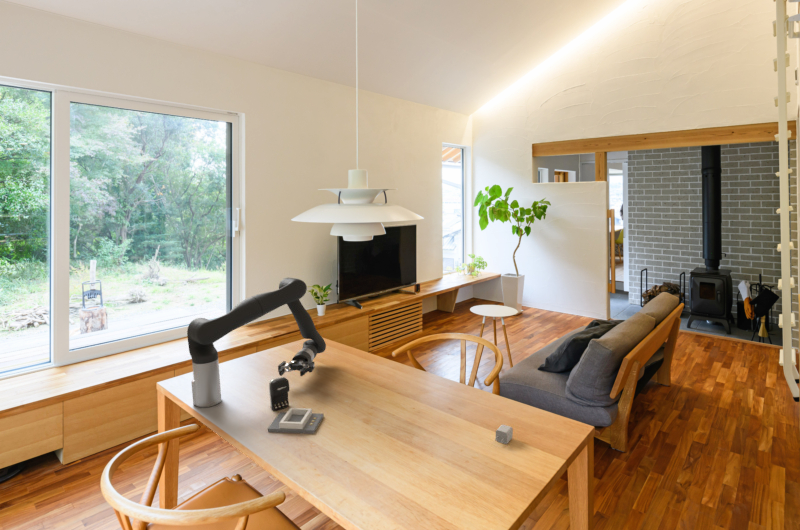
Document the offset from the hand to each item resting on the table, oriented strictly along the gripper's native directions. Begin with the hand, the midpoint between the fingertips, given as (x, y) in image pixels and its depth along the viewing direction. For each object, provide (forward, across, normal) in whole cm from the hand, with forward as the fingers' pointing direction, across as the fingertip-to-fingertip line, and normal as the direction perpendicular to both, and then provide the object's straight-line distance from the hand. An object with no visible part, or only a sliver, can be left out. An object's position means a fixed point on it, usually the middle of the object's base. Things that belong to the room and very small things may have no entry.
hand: (290, 373), depth 180 cm
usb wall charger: (+29, +80, +10) cm, 86 cm away
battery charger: (+12, 0, +9) cm, 15 cm away
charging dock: (+23, +10, +9) cm, 27 cm away
